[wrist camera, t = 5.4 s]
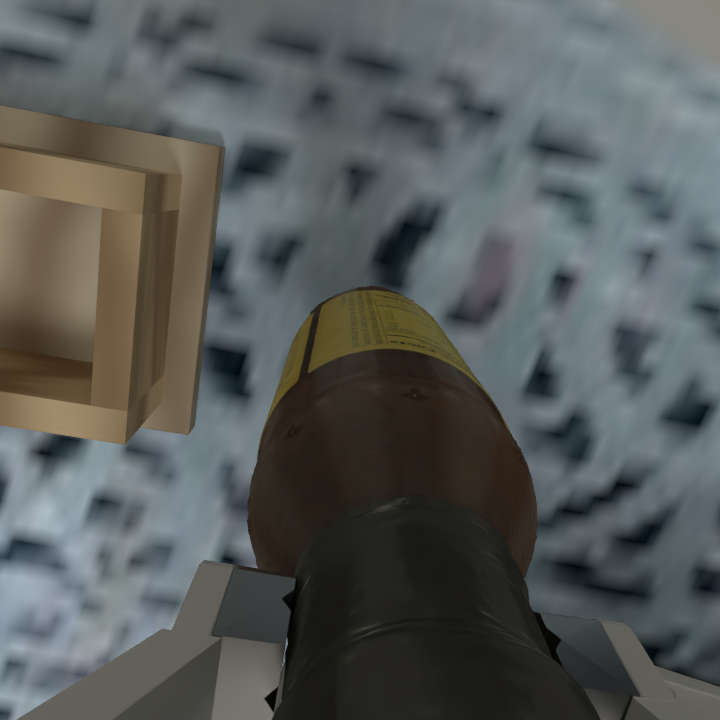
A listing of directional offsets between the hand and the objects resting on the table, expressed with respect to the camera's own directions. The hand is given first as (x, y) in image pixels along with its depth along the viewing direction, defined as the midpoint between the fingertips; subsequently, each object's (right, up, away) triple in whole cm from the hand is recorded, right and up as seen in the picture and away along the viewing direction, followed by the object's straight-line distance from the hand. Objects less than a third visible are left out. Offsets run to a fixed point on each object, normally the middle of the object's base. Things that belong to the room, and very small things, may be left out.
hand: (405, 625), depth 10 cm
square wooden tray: (-15, +9, +20) cm, 26 cm away
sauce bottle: (0, +5, +15) cm, 16 cm away
